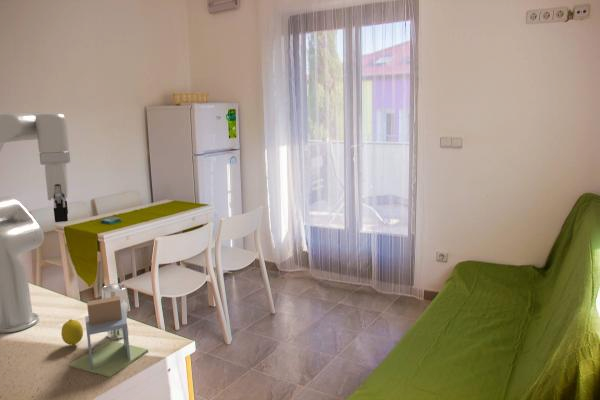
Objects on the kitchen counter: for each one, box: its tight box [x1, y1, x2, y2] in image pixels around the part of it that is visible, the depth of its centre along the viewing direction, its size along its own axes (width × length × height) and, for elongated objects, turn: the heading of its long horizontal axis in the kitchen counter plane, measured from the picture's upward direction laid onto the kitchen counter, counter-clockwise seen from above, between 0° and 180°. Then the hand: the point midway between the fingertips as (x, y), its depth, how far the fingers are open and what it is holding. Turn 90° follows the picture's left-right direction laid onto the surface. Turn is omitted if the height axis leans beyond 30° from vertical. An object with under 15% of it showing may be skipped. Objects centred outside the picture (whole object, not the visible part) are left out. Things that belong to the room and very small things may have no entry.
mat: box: [69, 339, 149, 378], centre depth 131 cm, size 14×14×1 cm
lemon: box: [61, 318, 84, 346], centre depth 138 cm, size 6×6×8 cm
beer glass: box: [101, 283, 130, 340], centre depth 143 cm, size 7×7×15 cm
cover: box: [84, 296, 130, 370], centre depth 129 cm, size 10×10×16 cm
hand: (61, 217), depth 138 cm, fingers open, 9 cm apart
